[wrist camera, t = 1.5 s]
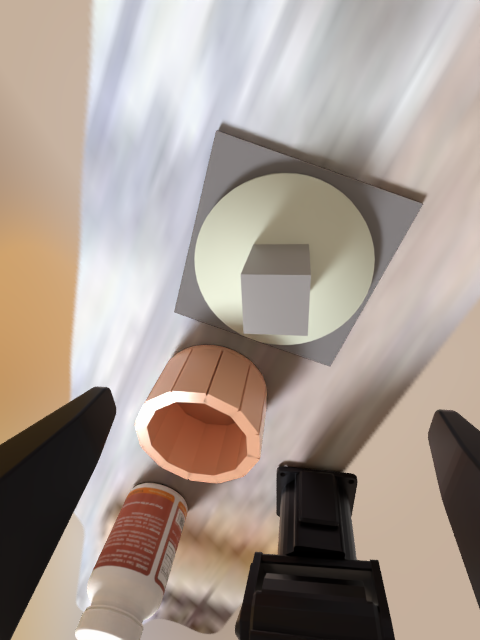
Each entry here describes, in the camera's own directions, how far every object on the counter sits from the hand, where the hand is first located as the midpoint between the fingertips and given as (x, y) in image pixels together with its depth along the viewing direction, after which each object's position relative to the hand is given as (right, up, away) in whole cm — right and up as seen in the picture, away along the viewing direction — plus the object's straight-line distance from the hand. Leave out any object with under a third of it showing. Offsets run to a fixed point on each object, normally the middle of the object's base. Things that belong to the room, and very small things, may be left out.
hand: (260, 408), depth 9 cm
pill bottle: (-9, -16, +25) cm, 31 cm away
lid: (+2, +6, +10) cm, 12 cm away
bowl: (-3, -3, +16) cm, 17 cm away
